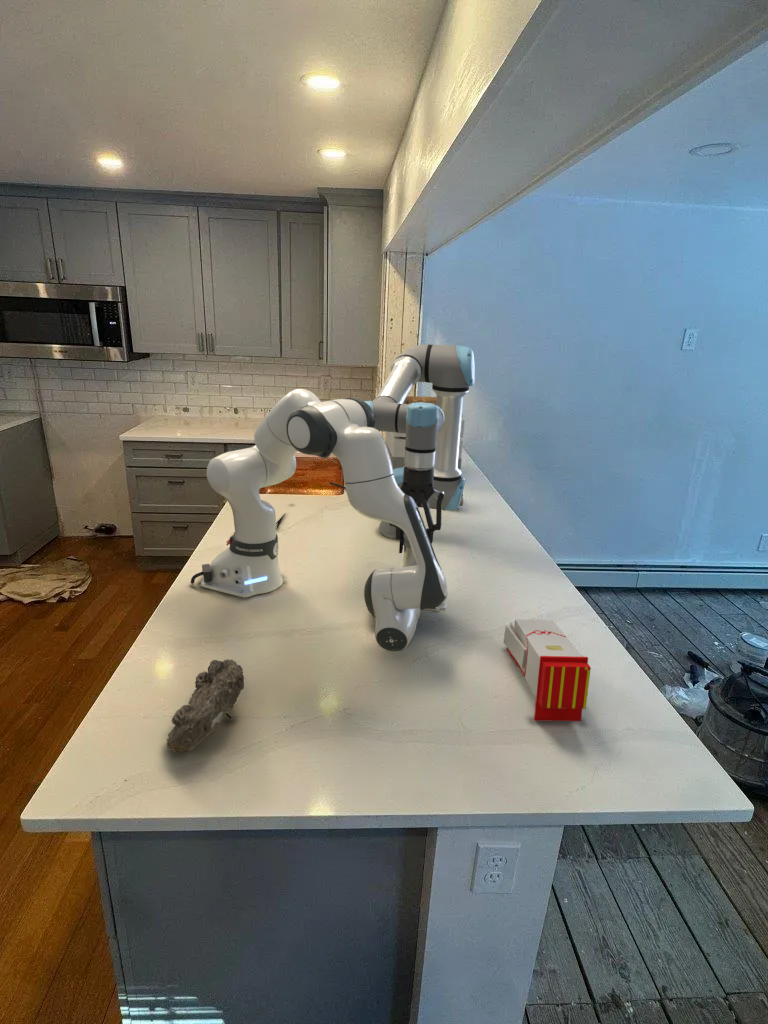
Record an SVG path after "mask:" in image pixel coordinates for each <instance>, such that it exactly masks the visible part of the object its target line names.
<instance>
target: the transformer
mask: <svg viewBox="0 0 768 1024" xmlns="http://www.w3.org/2000/svg"><path fill="white" fill-rule="evenodd" d="M416 402H424V403H432V404H435V405H436V396H415V395H414V396H413V395H412V396H411V395H407V397H406V399H405V401H404V403H403V404H411V403H416ZM464 429H465V419H464V418H462V419H461V431H460V443H459V455H458V469H459V470H460V471H461V472H462V461H463V460H462V453H463V442H464V441H463V440H462V439H463V438H464V431H465V430H464ZM384 440H385V443H386V446H387V449H388V452H389V455H390V458H391V462H392V467H393V469H396V468H401V467H405V466H406V465H405V464H404V456H405V443H406V433H397V432H385V438H384Z"/></svg>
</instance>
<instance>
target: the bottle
mask: <svg viewBox="0 0 768 1024" xmlns="http://www.w3.org/2000/svg"><path fill="white" fill-rule="evenodd" d="M415 565H417V561H416V559H415V556H414V553H413V550H412V548H408V547H405V546H404V545H403V561H402V567H407V566H415Z"/></svg>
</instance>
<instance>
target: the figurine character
mask: <svg viewBox="0 0 768 1024" xmlns="http://www.w3.org/2000/svg"><path fill="white" fill-rule="evenodd" d="M463 496H464V492H463V493H462V497H461V501H460V505H459V507H458V509H457V510H456V511H459V510H460V507H463V505H464V498H463Z"/></svg>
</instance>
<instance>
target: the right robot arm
mask: <svg viewBox="0 0 768 1024" xmlns="http://www.w3.org/2000/svg"><path fill="white" fill-rule="evenodd" d="M475 365H476V364H475V355H474V351H473V349H472V348H471V347H469V346H462V345H451V344H450V345H449V344H430V343H429V344H428V343H423V344H417V345H415V346H412V347H410V348H407V349H406V350H404V351H402V352H401V353H400V354H398V355H397V356H396V357H395V359H394V360H393V361H392V363H391V366H390V373H389V375H388V376H387V378H386V380H385V382H384V383H383V384H382V386H381V388H380V390H379V392H378V393H377V395H376V397H375V398H374V400H363V401H364V402H366V403H367V404H368V405H369V406H370V408H371V409H372V411H373V414H374V419H375V424H374V429H377V430H378V431H379V432H384V433H386V432H397V433H406V443H405V456H404V464H405V465H404V467H401V468H396V469H393V471H394V476H395V480H396V482H397V484H398V486H399V488H400V489H401V490H402V491H403V493H404V494H406V495H409V496H411V497H412V498H413V500H414V501H415V503H416V505H417V507H418V509H419V508H422V509H423V512H424V516H425V520H426V524H427V528H426V530H427V533H428V536H429V539H430V542H431V544H432V543H433V541H434V534H435V533H434V532H436V531H440V530H441V529H442V513H443V512H445V511H447V512H455V511H458V510H457V509H458V508H460V506H459V505H460V501H461V497H462V493H463V494H464V488H465V484H466V478H465V477H462V470H461V471H460V470H459V469H458V455H459V443H460V439H461V438H460V431H461V419H463V408H464V407H463V406H464V396H465V395H467V394H468V393H469V391H470V387H473V386H474V385H475V379H476V377H475V375H476V367H475ZM418 383H426V384H427V383H428V384H429V383H430V384H432V385H431V390H432V391H433V393H435V395H436V396H435V397H436V405H435V404H432V403H424V402H416V403H411V404H403V403H404V401H405V399H406V397H407V396H409V394H410V392H411V389H412V388H413V386H415V385H416V384H418ZM328 484H329V485H331V486H335V487H338V488H341V489H343V490H346V488H345V485H342V484H338V483H335V482H331V481H329V483H328ZM462 498H463V497H462ZM431 509H432V510H435V511H436V513H435V517H436V518H435V520H436V521H435V523H434V520H433V516H432V511H431ZM442 511H443V512H442ZM378 533H379V534H380V535H381V536H382V537H385V538H387V539H389V540H395V541H399V546H398V554H402V553H403V552H404V545H403V535H404V534H406V533H405V532H404V531H403V530H402V529H401V528H400V527H398V526H396V525H394V524H391V523H388V522H384V521H380V522H379V527H378Z"/></svg>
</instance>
